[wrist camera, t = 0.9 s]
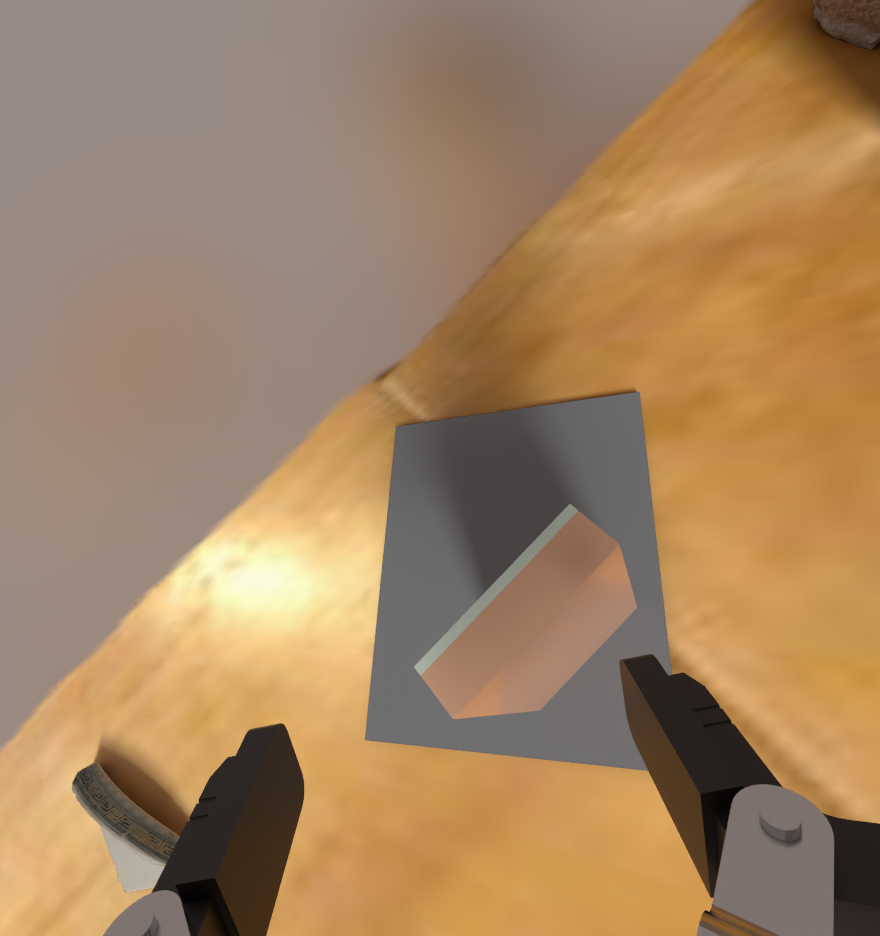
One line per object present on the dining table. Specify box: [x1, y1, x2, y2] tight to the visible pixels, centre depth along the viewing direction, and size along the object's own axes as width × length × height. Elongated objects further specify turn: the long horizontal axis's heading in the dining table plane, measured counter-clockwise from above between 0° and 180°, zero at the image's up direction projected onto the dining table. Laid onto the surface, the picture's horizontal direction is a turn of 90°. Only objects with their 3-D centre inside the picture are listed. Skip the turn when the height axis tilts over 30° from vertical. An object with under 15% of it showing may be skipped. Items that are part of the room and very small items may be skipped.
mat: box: [365, 392, 672, 771], centre depth 33 cm, size 22×18×1 cm
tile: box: [414, 504, 637, 719], centre depth 23 cm, size 2×8×14 cm, turn 132°
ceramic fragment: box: [72, 762, 180, 893], centre depth 34 cm, size 14×5×4 cm, turn 67°
